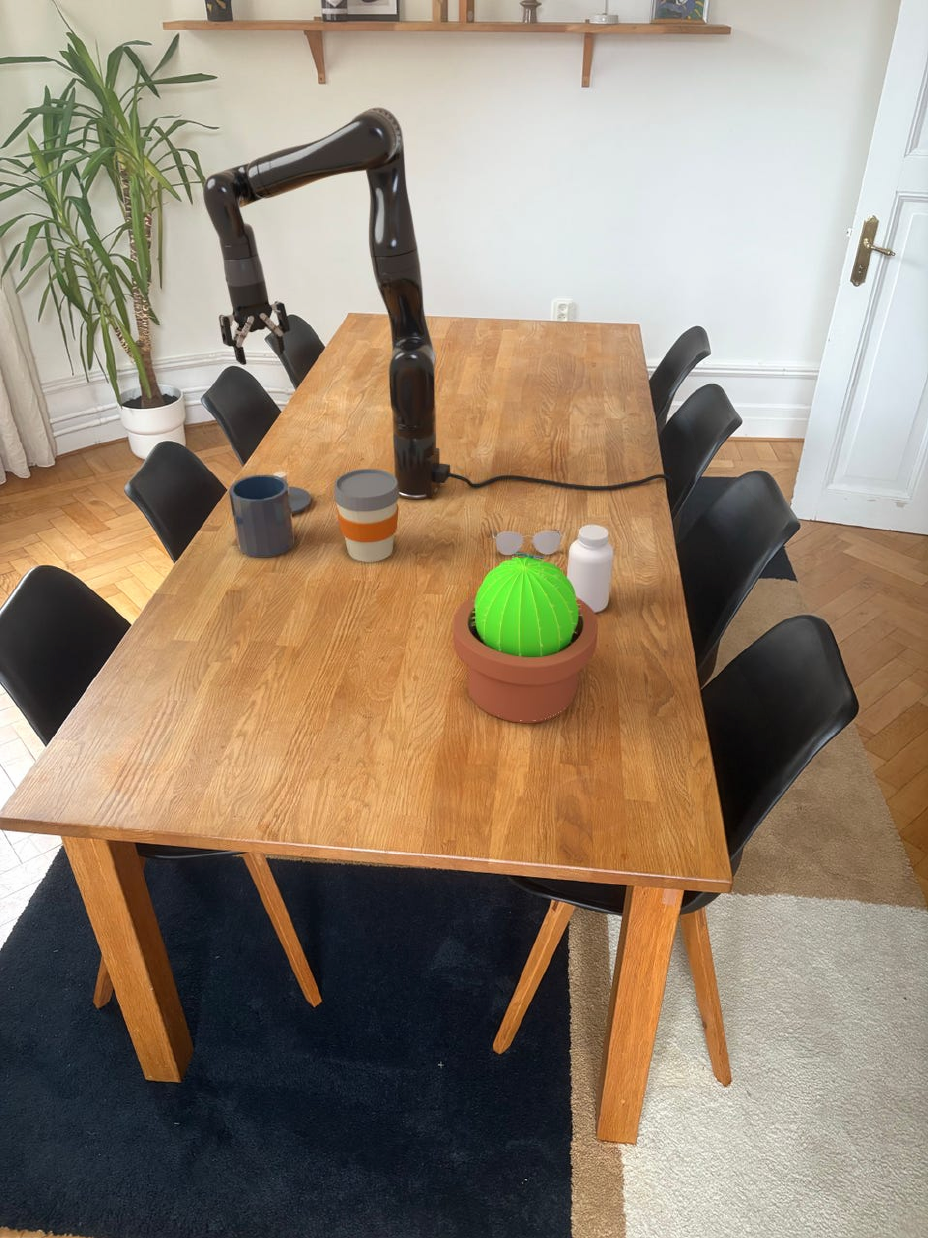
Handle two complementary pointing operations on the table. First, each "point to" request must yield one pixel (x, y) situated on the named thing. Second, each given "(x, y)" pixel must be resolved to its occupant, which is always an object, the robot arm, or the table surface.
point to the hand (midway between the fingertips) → (261, 358)
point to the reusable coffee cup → (367, 512)
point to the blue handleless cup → (262, 515)
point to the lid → (296, 495)
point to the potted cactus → (524, 640)
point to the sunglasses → (542, 541)
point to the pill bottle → (591, 566)
